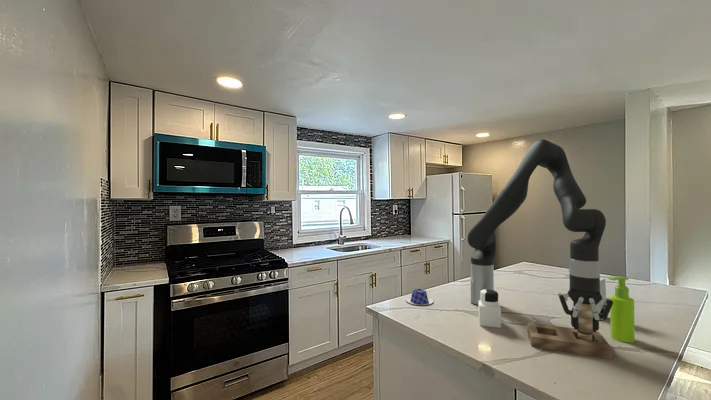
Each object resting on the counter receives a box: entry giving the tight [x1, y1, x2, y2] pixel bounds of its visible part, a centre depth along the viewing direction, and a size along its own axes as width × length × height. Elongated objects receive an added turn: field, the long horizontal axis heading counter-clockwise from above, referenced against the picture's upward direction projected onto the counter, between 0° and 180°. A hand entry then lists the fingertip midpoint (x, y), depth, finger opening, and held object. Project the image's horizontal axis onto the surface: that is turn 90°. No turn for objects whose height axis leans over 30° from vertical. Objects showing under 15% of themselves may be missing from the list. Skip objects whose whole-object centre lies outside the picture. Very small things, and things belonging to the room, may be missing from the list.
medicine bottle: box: [477, 289, 502, 329], centre depth 112 cm, size 7×7×12 cm
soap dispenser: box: [607, 275, 636, 344], centre depth 99 cm, size 6×7×20 cm
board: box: [526, 321, 614, 360], centre depth 96 cm, size 20×12×3 cm, turn 66°
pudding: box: [405, 288, 434, 306], centre depth 137 cm, size 12×12×5 cm
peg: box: [577, 304, 594, 341], centre depth 94 cm, size 4×4×12 cm
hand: (584, 329), depth 94 cm, fingers closed on peg, 4 cm apart
